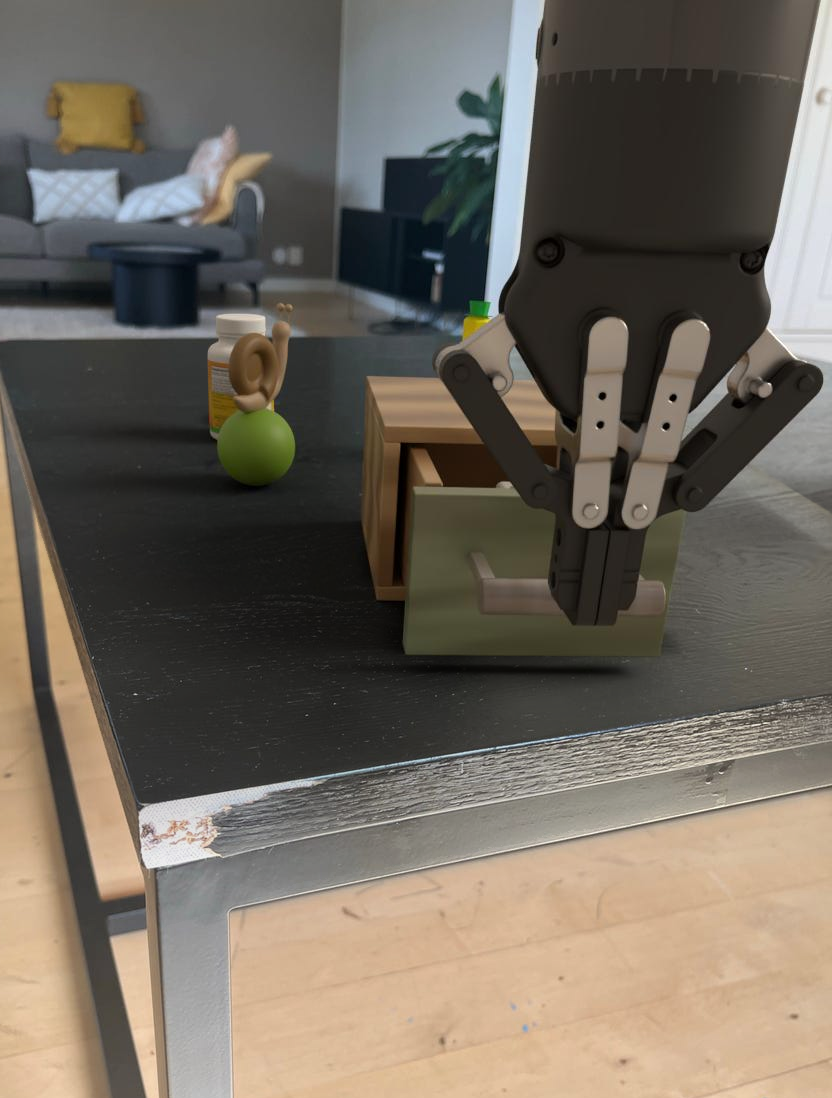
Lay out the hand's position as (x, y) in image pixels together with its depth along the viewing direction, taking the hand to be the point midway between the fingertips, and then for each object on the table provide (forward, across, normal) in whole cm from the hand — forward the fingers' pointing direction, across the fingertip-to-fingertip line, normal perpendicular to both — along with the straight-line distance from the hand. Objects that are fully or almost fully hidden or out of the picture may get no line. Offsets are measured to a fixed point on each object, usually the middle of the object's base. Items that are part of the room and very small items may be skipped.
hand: (587, 617), depth 36 cm
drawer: (+5, 0, +10) cm, 11 cm away
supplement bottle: (+6, -15, +50) cm, 53 cm away
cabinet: (+6, 0, +22) cm, 22 cm away
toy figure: (+6, +3, +44) cm, 45 cm away
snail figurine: (+6, -13, +36) cm, 39 cm away
